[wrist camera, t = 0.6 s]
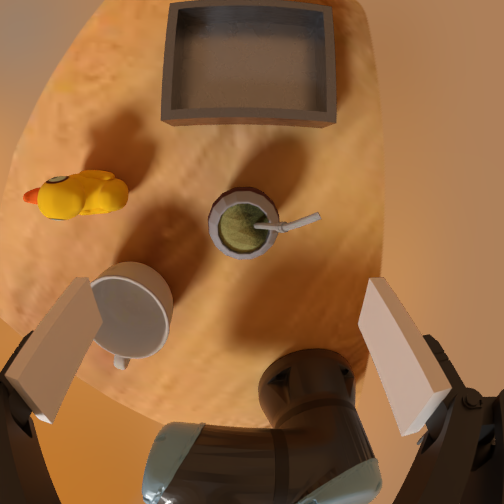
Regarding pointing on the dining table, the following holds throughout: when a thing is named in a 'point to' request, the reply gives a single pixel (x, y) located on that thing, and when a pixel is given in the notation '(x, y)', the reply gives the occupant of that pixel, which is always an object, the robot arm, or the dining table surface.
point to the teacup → (132, 311)
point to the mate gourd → (248, 223)
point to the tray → (249, 64)
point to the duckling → (79, 195)
